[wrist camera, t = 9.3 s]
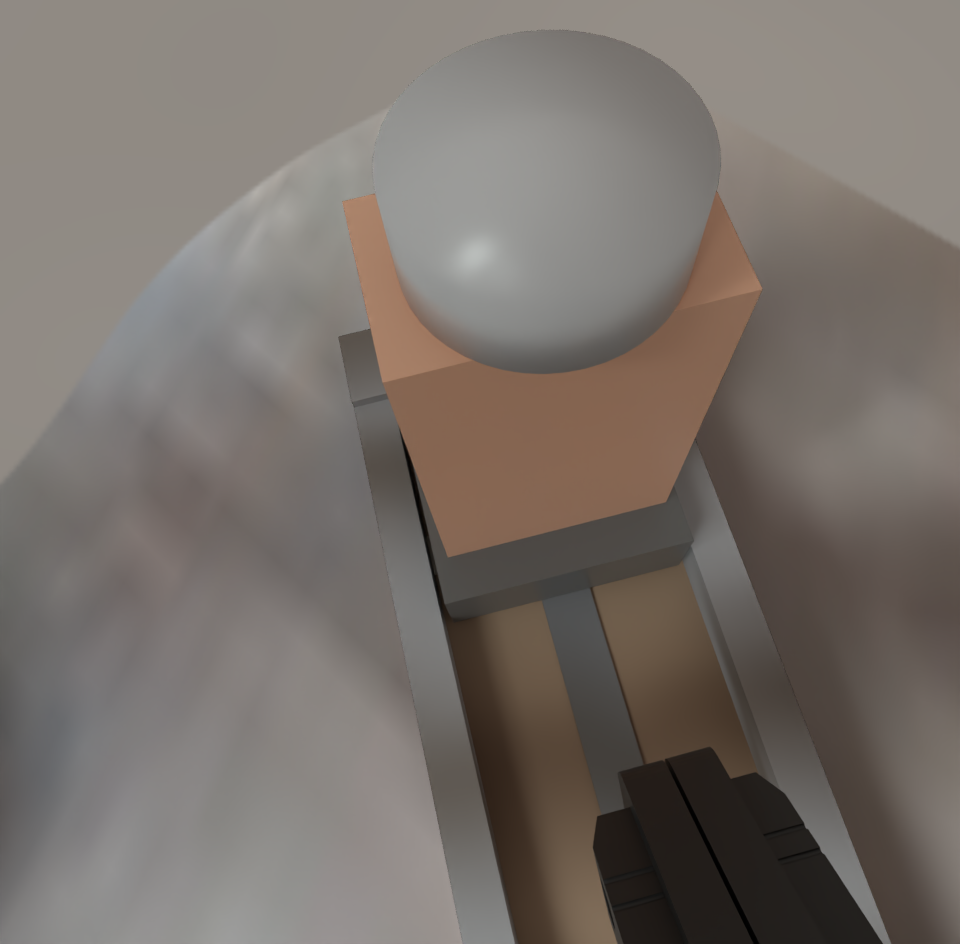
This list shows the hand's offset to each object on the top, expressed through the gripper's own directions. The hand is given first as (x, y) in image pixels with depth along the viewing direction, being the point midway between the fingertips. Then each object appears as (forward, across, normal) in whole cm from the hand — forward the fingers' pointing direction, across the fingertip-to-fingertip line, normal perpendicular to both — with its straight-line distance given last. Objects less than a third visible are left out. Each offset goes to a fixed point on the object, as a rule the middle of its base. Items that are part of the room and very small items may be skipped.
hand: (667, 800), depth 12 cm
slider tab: (+9, 0, -1) cm, 9 cm away
